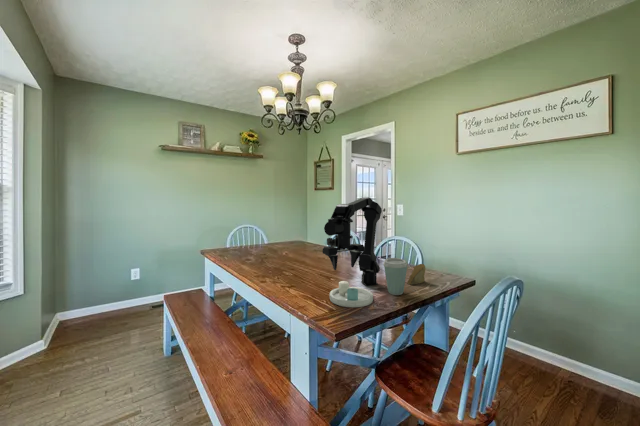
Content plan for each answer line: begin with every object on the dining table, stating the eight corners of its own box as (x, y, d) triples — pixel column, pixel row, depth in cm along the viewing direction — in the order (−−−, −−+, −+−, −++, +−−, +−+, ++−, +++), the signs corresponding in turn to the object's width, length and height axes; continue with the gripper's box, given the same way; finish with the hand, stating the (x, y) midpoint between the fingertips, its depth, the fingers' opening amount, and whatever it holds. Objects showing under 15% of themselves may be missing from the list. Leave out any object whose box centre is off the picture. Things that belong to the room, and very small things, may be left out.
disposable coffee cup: (411, 296, 125) (412, 262, 124) (388, 297, 123) (388, 263, 122) (401, 288, 135) (401, 257, 134) (379, 289, 133) (379, 258, 133)
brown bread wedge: (410, 282, 137) (430, 279, 138) (404, 265, 142) (424, 262, 142) (405, 289, 146) (424, 286, 147) (400, 274, 151) (418, 271, 152)
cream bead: (343, 296, 123) (343, 284, 122) (336, 293, 126) (336, 282, 126) (350, 293, 125) (351, 282, 125) (343, 291, 129) (343, 280, 129)
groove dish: (362, 290, 132) (362, 285, 132) (380, 304, 115) (380, 298, 115) (324, 294, 127) (324, 289, 127) (337, 309, 110) (337, 303, 110)
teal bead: (345, 302, 115) (345, 290, 115) (350, 299, 119) (350, 287, 119) (354, 304, 113) (354, 292, 112) (359, 301, 116) (360, 289, 116)
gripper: (350, 230, 136) (350, 262, 137) (316, 232, 126) (316, 267, 127) (365, 232, 126) (365, 267, 127) (329, 235, 117) (329, 273, 118)
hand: (343, 268), depth 125 cm, fingers open, 9 cm apart
